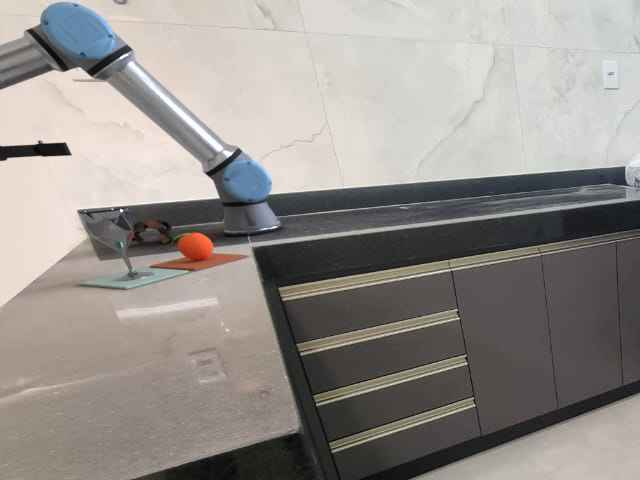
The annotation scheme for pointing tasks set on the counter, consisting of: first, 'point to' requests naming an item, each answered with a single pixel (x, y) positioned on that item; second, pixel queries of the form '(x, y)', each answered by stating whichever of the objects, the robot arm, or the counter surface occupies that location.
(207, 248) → the clementine
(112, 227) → the wine glass
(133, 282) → the glass mat
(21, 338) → the counter surface
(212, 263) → the fruit mat
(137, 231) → the brown segmented ring
